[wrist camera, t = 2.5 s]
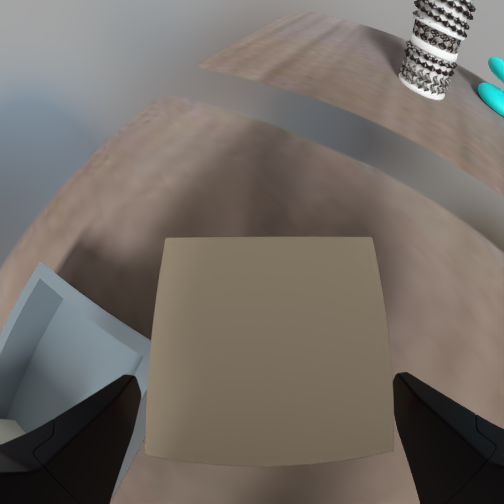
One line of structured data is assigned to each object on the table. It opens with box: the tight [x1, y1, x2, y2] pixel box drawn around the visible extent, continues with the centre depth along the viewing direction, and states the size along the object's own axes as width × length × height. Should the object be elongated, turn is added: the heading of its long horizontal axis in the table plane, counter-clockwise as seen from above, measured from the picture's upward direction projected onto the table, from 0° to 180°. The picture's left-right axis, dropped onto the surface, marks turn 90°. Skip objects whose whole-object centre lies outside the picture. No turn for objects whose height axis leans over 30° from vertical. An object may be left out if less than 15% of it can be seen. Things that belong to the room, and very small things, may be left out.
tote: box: [0, 261, 151, 502], centre depth 13 cm, size 20×12×4 cm, turn 154°
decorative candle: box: [398, 0, 475, 100], centre depth 24 cm, size 9×9×25 cm
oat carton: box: [145, 237, 394, 466], centre depth 11 cm, size 5×5×13 cm
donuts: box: [478, 57, 504, 117], centre depth 31 cm, size 10×10×10 cm
